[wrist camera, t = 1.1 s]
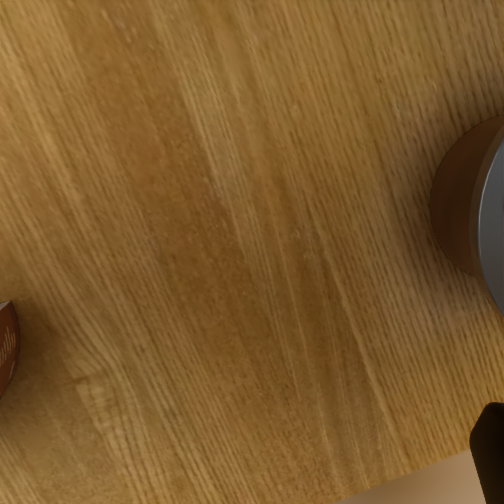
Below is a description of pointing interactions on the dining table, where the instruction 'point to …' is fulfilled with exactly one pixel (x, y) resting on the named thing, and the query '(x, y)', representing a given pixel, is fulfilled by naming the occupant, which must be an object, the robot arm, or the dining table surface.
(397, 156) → the dining table surface
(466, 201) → the stand
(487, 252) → the lid
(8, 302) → the food container
